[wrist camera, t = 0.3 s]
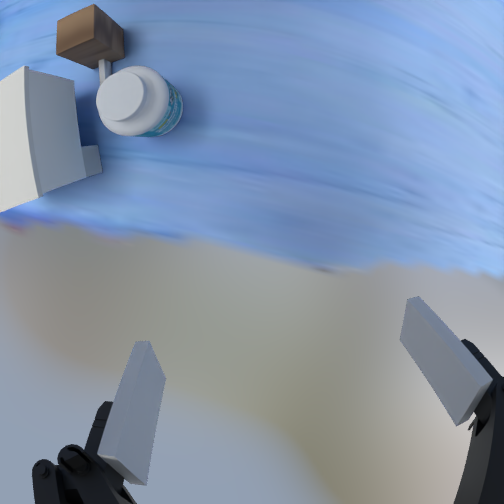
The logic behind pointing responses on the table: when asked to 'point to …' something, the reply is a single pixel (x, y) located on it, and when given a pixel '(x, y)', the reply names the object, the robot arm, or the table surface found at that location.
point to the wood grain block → (90, 40)
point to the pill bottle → (138, 103)
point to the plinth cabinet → (40, 137)
